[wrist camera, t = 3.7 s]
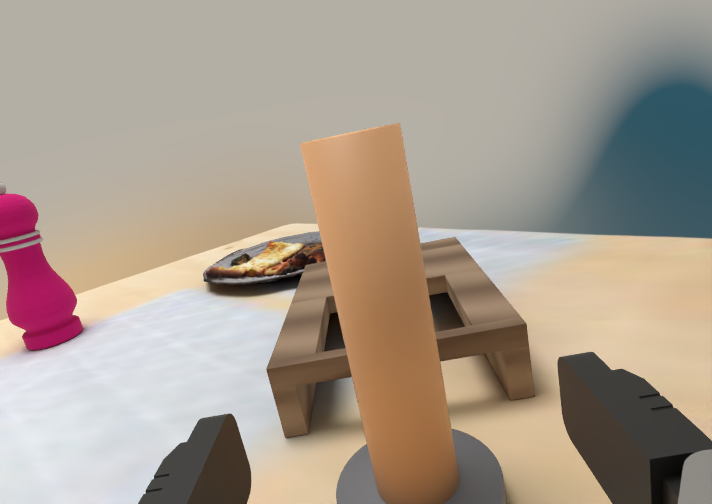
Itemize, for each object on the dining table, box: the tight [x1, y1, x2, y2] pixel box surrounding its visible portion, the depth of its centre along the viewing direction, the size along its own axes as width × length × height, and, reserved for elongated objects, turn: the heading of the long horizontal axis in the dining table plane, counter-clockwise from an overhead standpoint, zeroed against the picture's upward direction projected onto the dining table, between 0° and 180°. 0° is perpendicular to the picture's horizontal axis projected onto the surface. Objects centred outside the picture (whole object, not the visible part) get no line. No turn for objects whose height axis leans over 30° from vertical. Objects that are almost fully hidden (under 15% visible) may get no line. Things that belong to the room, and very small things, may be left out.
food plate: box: [203, 231, 326, 286], centre depth 71 cm, size 25×23×4 cm
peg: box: [300, 123, 507, 504], centre depth 21 cm, size 8×8×18 cm
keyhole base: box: [266, 237, 534, 438], centre depth 40 cm, size 22×16×5 cm
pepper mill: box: [0, 182, 83, 350], centre depth 57 cm, size 7×7×20 cm
